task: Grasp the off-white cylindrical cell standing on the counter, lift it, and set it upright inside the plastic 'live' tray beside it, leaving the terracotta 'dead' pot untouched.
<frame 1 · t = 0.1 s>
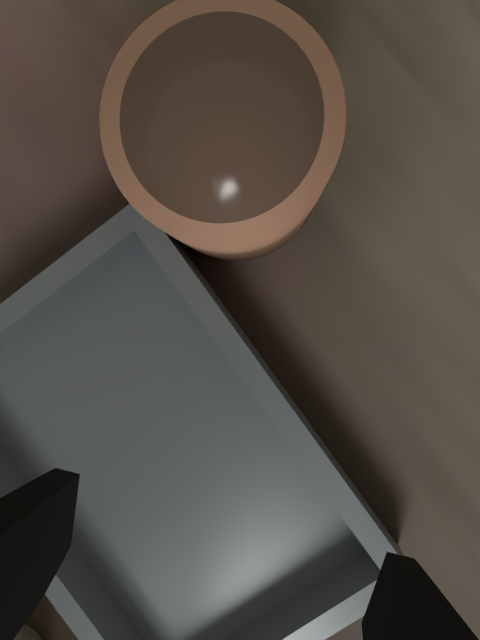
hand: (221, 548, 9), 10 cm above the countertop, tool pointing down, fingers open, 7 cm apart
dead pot: (234, 174, 19), on the countertop
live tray: (162, 459, 20), on the countertop
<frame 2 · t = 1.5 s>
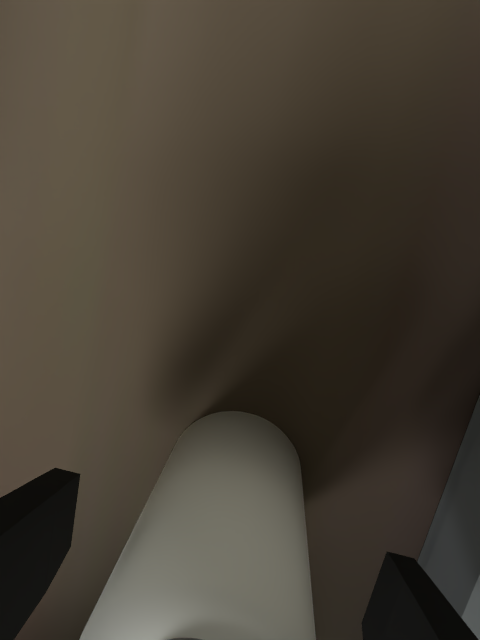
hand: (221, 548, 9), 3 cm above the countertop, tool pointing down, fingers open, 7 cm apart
cell: (234, 472, 12), on the countertop
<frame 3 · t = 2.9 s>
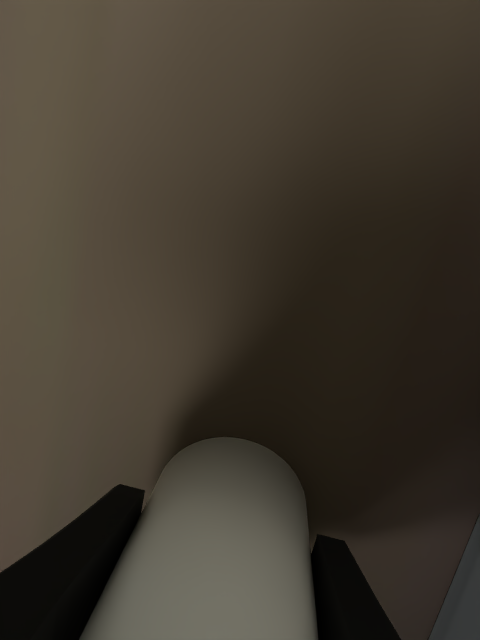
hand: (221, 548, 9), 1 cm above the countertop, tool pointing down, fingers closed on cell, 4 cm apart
cell: (229, 506, 11), on the countertop, touching gripper
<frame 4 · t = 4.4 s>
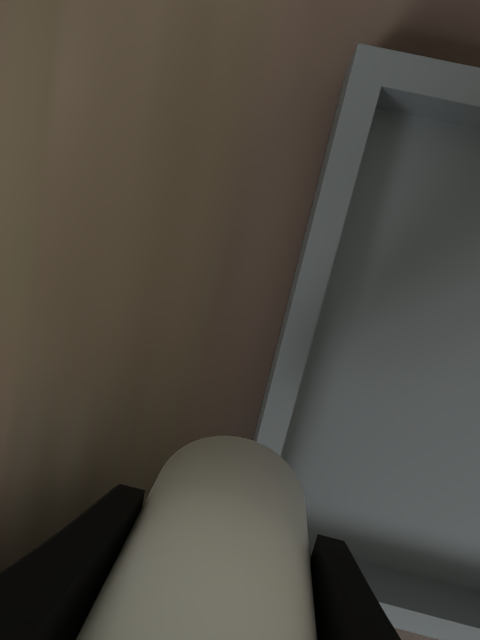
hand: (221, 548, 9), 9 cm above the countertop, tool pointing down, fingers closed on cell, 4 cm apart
cell: (228, 505, 11), point 7 cm above the countertop, touching gripper
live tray: (446, 377, 17), on the countertop
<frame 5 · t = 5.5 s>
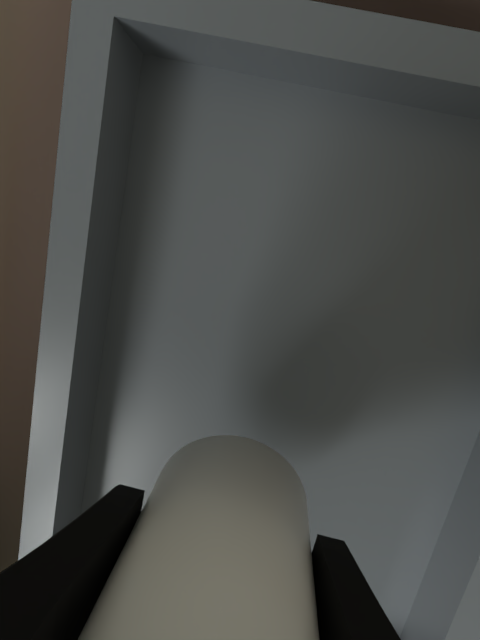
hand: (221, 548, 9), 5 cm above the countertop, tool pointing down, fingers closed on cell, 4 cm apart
cell: (229, 504, 11), point 3 cm above the countertop, touching gripper
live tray: (282, 396, 13), on the countertop
when the fingers open (3 cm above the countertop, at t = 6.2 s): cell drops 1 cm, resting on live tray.
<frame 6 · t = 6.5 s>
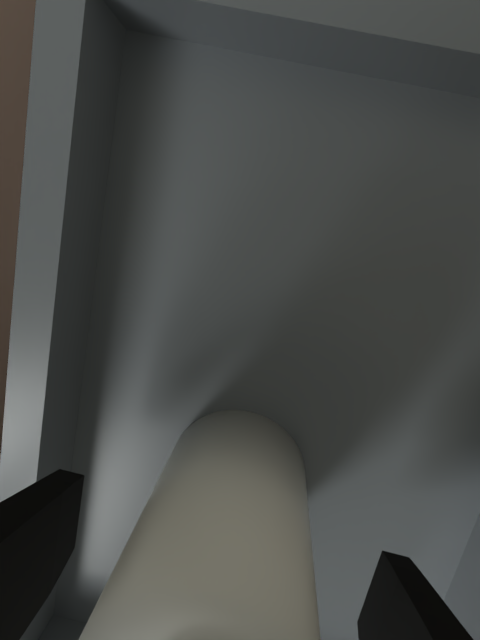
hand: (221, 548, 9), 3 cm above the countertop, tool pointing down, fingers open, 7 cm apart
cell: (237, 472, 12), point 1 cm above the countertop, touching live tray
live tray: (284, 414, 12), on the countertop
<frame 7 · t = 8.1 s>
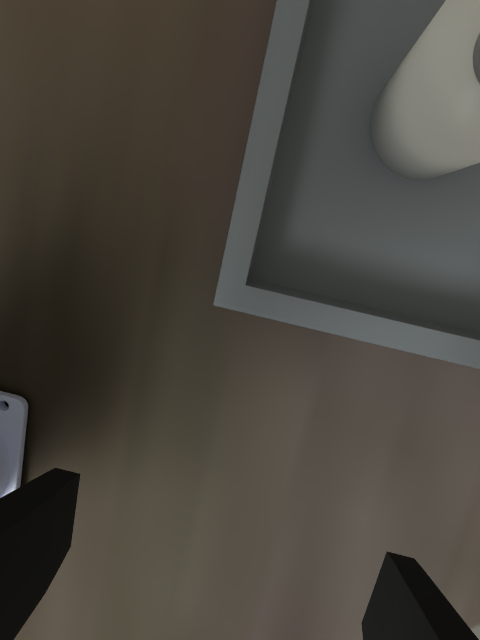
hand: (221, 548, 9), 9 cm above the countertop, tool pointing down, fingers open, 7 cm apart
cell: (426, 121, 15), point 1 cm above the countertop, touching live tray
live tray: (466, 74, 15), on the countertop
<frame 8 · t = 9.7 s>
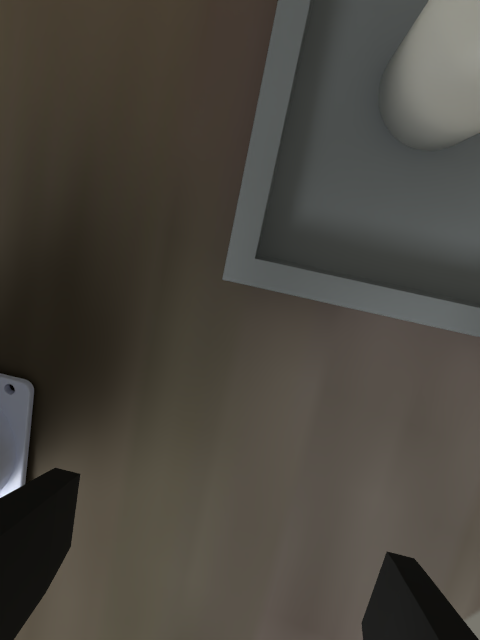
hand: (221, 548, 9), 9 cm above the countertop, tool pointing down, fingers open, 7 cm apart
cell: (435, 91, 15), point 1 cm above the countertop, touching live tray
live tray: (474, 43, 15), on the countertop
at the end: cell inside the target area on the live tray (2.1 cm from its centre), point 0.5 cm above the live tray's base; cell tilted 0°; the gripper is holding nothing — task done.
